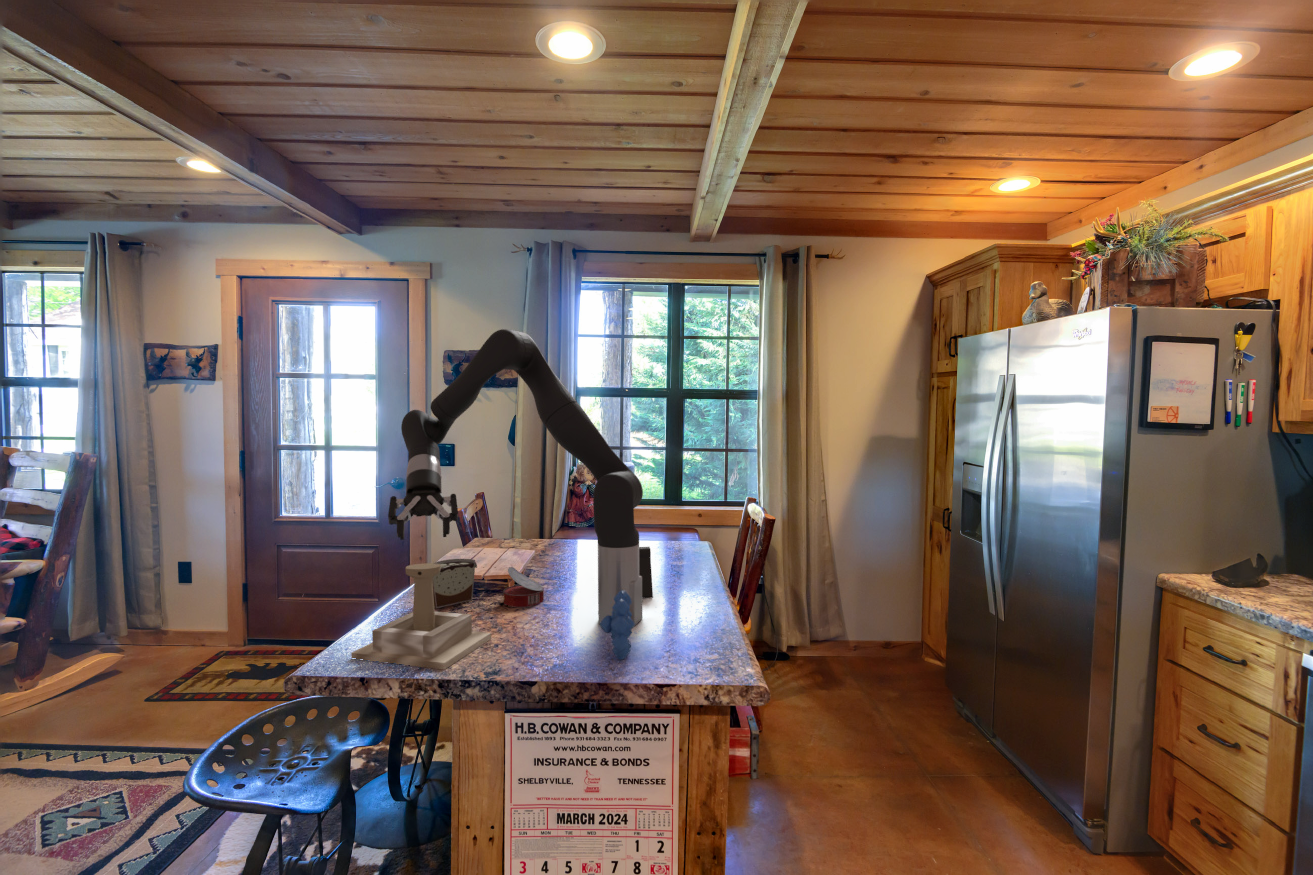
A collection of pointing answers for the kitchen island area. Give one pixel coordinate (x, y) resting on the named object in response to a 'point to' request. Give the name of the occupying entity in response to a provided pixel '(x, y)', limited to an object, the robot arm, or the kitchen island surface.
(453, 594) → the food container
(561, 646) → the kitchen island surface
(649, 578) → the door stopper
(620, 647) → the grapes
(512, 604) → the canned food
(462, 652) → the socket stand
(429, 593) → the handle
